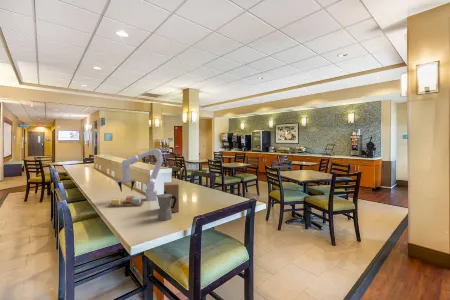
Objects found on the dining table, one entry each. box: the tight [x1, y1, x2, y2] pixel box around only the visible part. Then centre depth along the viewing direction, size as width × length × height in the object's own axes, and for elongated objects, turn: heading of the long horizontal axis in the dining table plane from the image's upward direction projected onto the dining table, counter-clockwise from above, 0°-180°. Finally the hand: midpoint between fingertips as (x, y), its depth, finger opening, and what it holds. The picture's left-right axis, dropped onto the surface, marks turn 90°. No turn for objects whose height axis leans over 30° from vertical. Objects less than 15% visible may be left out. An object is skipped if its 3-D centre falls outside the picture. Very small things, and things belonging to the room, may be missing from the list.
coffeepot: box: [156, 190, 177, 222], centre depth 145 cm, size 15×9×18 cm, turn 69°
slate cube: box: [132, 197, 142, 204], centre depth 173 cm, size 5×5×5 cm
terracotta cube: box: [125, 195, 135, 202], centre depth 181 cm, size 5×5×5 cm
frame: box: [108, 200, 144, 209], centre depth 172 cm, size 23×8×3 cm, turn 98°
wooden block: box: [163, 181, 180, 214], centre depth 161 cm, size 10×10×20 cm
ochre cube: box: [111, 197, 122, 205], centre depth 170 cm, size 5×5×5 cm
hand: (126, 191), depth 182 cm, fingers open, 7 cm apart
